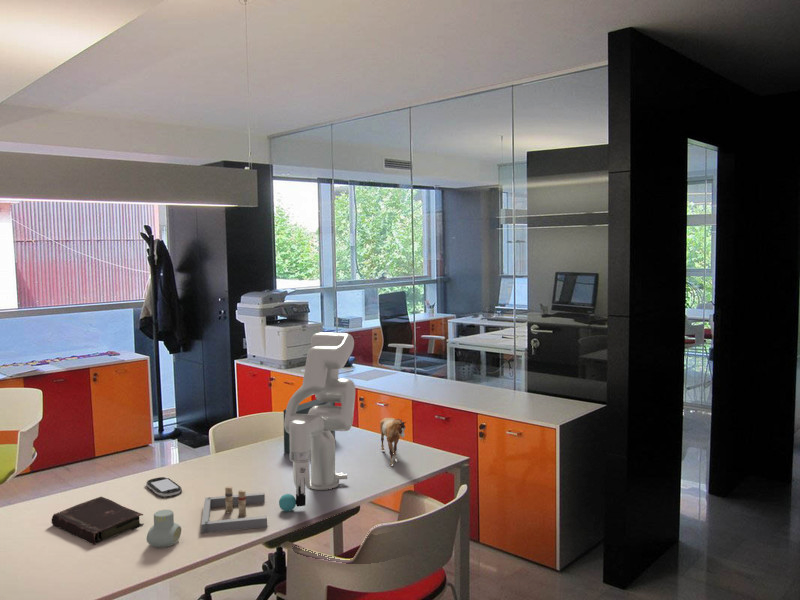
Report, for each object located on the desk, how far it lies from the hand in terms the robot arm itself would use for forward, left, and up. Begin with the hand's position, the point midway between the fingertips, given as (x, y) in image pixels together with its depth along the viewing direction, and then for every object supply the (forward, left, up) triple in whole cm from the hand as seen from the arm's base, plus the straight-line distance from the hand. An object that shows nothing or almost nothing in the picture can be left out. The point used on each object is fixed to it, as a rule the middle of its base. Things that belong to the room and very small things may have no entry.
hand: (300, 505), depth 229 cm
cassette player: (-11, -73, -2) cm, 74 cm away
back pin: (+25, -5, -2) cm, 25 cm away
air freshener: (+44, +16, -2) cm, 47 cm away
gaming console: (+49, -32, -3) cm, 59 cm away
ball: (+5, 0, +1) cm, 5 cm away
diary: (+67, -4, -3) cm, 67 cm away
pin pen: (+22, 0, -2) cm, 22 cm away
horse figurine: (-47, -47, -2) cm, 66 cm away
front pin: (+20, 0, -2) cm, 20 cm away
